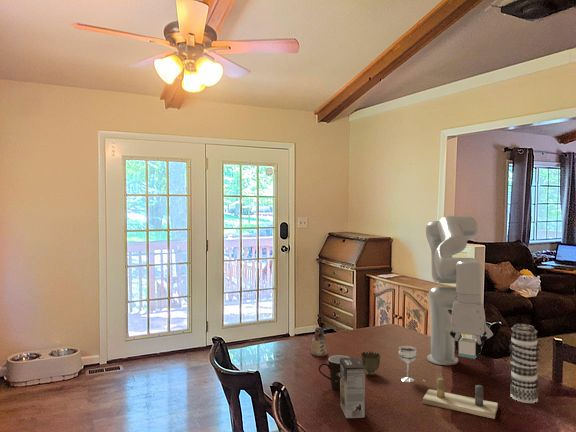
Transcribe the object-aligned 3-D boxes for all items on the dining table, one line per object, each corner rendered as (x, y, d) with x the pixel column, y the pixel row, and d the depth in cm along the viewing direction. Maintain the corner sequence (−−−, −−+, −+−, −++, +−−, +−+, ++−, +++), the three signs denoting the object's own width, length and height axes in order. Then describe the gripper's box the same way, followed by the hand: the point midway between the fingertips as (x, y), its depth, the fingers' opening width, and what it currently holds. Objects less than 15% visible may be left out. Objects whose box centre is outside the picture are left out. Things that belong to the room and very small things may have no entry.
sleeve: (461, 351, 148) (461, 336, 148) (477, 354, 145) (477, 339, 145) (458, 356, 143) (458, 340, 143) (475, 358, 141) (475, 343, 141)
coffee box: (339, 405, 146) (339, 357, 146) (358, 404, 147) (358, 356, 146) (345, 418, 137) (345, 367, 137) (365, 417, 138) (365, 366, 137)
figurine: (329, 352, 200) (329, 326, 199) (322, 357, 194) (322, 330, 193) (315, 350, 203) (315, 324, 203) (308, 354, 197) (308, 327, 197)
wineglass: (404, 374, 172) (404, 344, 172) (420, 379, 168) (420, 348, 167) (395, 379, 168) (394, 348, 168) (411, 384, 163) (410, 352, 163)
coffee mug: (354, 383, 164) (354, 356, 164) (349, 392, 156) (349, 364, 156) (323, 379, 168) (323, 353, 168) (318, 388, 160) (317, 361, 160)
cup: (380, 378, 169) (380, 357, 169) (360, 377, 170) (360, 356, 170) (380, 371, 176) (380, 351, 176) (361, 370, 178) (361, 350, 177)
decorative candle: (538, 406, 145) (539, 330, 144) (507, 399, 150) (507, 326, 149) (540, 396, 152) (540, 324, 152) (510, 390, 157) (510, 320, 157)
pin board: (429, 393, 155) (429, 372, 155) (497, 407, 144) (497, 384, 144) (422, 403, 148) (422, 380, 147) (494, 418, 136) (494, 394, 136)
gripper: (438, 297, 145) (438, 352, 146) (495, 303, 136) (495, 361, 136) (444, 294, 152) (444, 346, 152) (498, 299, 143) (498, 355, 143)
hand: (468, 353), depth 144 cm, fingers closed on sleeve, 5 cm apart
